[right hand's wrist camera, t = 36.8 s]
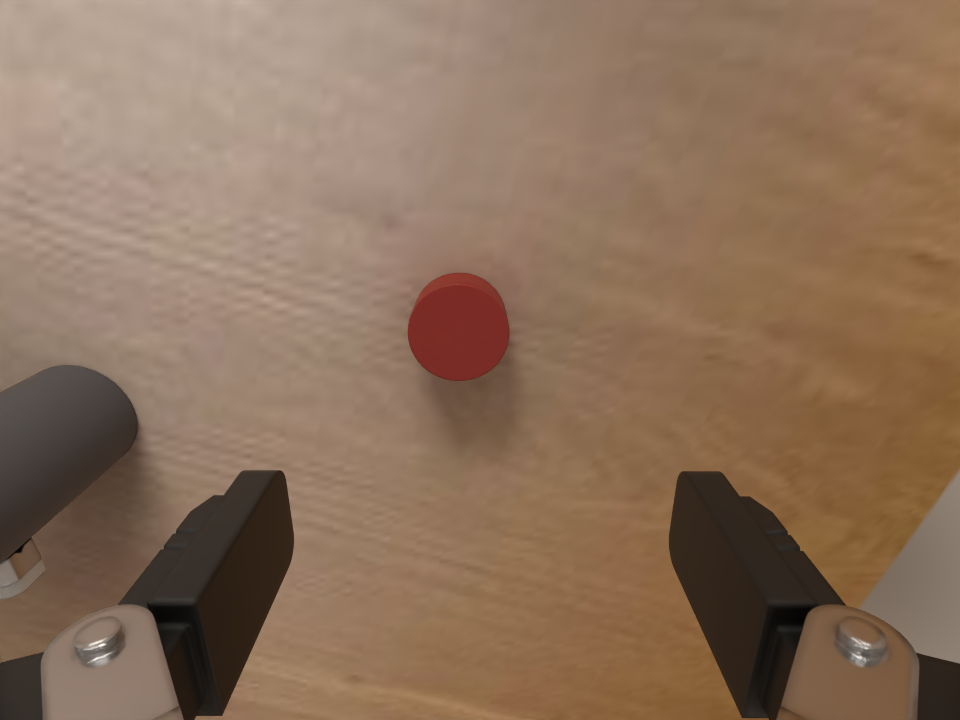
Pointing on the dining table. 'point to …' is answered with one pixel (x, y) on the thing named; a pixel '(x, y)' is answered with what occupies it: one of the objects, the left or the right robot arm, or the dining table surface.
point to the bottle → (56, 445)
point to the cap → (458, 327)
